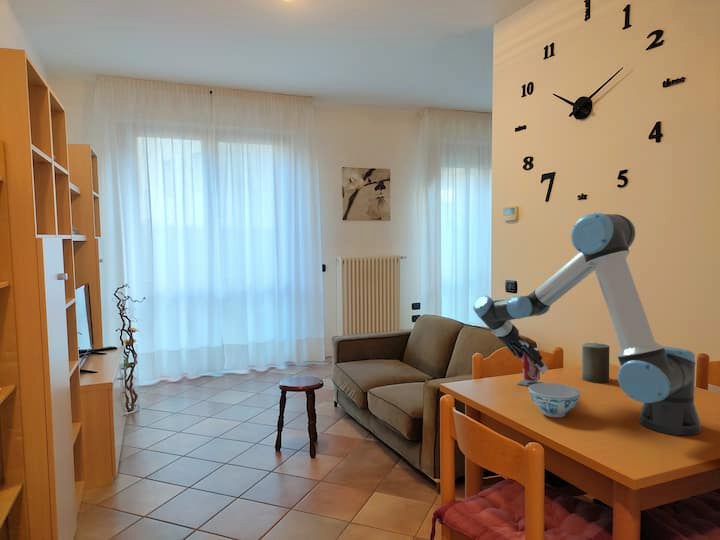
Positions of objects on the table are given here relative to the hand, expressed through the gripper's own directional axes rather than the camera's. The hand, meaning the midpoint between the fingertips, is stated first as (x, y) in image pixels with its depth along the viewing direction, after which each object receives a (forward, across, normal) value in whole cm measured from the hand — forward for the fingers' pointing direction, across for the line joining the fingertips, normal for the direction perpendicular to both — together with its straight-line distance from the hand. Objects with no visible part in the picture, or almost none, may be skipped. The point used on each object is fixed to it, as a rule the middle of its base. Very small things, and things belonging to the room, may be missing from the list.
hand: (538, 368), depth 184 cm
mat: (+2, 0, -6) cm, 7 cm away
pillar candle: (+21, +5, +13) cm, 25 cm away
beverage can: (0, 0, -5) cm, 5 cm away
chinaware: (-9, +28, -18) cm, 34 cm away
